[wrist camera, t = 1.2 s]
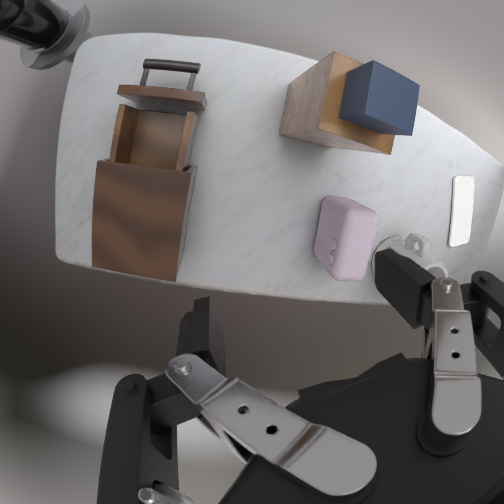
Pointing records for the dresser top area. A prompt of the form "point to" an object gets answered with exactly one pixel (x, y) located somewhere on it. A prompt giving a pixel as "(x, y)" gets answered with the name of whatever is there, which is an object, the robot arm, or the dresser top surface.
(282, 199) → the dresser top surface
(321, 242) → the electronic device
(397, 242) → the cup
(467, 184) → the smartphone
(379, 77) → the block
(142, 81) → the drawer
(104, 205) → the cabinet
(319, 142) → the stand
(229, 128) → the dresser top surface
